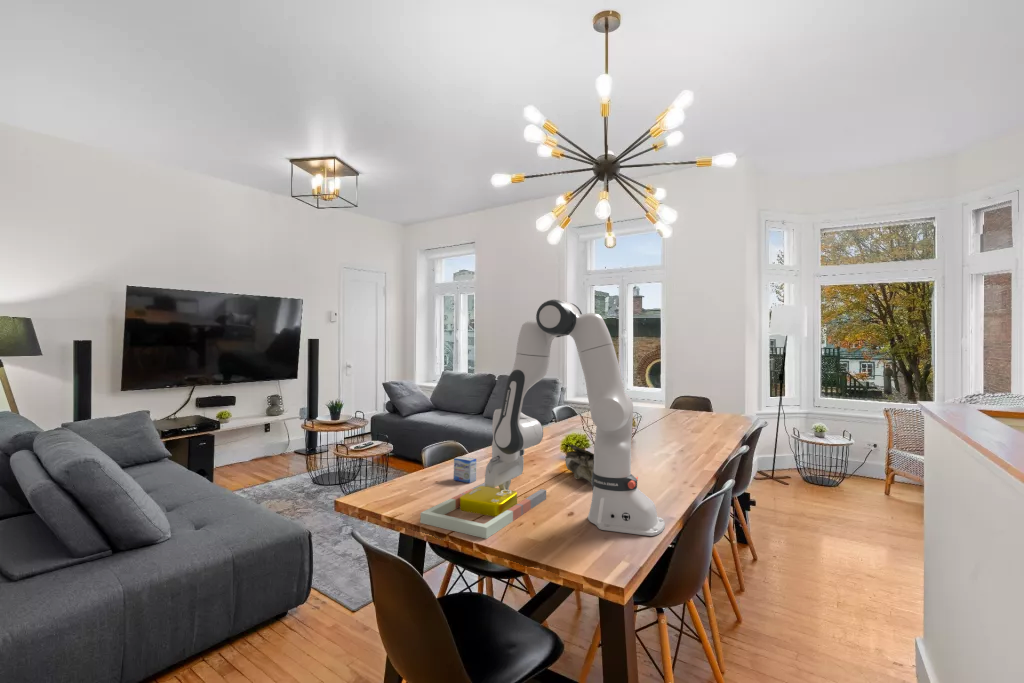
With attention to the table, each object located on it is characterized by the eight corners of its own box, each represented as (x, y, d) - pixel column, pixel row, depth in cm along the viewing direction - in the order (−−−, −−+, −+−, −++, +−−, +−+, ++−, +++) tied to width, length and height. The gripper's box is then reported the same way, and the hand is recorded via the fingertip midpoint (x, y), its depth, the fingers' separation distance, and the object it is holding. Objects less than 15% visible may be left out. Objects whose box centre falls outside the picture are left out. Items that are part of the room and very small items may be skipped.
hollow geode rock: (570, 481, 204) (547, 457, 201) (589, 458, 207) (567, 434, 204) (603, 499, 178) (578, 472, 175) (625, 473, 181) (600, 446, 178)
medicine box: (453, 480, 187) (453, 458, 187) (459, 477, 191) (459, 455, 191) (470, 483, 183) (470, 460, 183) (476, 480, 187) (476, 458, 187)
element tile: (479, 497, 168) (480, 483, 168) (519, 504, 162) (519, 489, 162) (457, 511, 154) (457, 496, 154) (499, 518, 148) (499, 503, 148)
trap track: (546, 498, 166) (546, 490, 166) (486, 538, 132) (486, 527, 132) (489, 488, 177) (489, 480, 177) (420, 522, 143) (420, 512, 143)
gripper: (497, 461, 153) (496, 504, 153) (526, 448, 171) (526, 487, 171) (480, 458, 156) (479, 501, 156) (511, 446, 174) (510, 485, 174)
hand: (504, 494), depth 164 cm, fingers closed
